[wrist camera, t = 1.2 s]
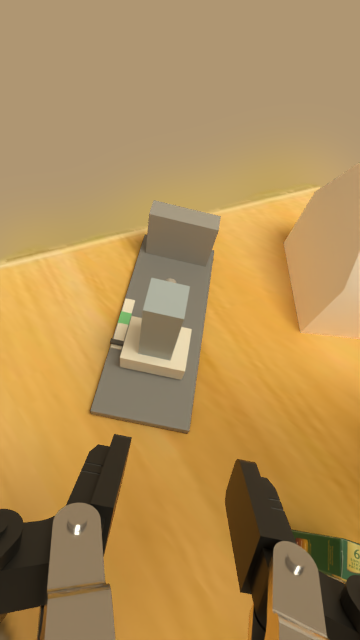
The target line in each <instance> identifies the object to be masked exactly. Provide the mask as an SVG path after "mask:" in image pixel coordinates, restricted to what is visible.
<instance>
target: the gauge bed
mask: <svg viewBox="0 0 360 640" xmlns="http://www.w3.org/2000/svg"><path fill="white" fill-rule="evenodd" d="M219 224H220V216H217V215H213V214H209V213H204V212H200V211H196V210H192V209H188V208H184V207H179V206H175V205H171V204H167V203H163V202H159V201H153V204H152V207H151V210H150V214H149V223H148V234H147V235H145V236H144V239H143V242H142V246H141V249H140V252H139V255H138V259H137V262H136V265H135V268H134V271H133V275H132V278H131V281H130V284H129V288H128V291H127V294H126V297H125V301H124V304H123V307H122V310H121V313H120V317H119V320H118V323H117V326H116V330H115V333H114V336H113V339H116V340H121V341H125V338H126V334H127V331H128V327H129V324H130V320H131V317H132V316H135V317H139V318H142V313H143V308H144V304H145V300H146V296H147V293H148V289H149V285H150V281H151V278H155V279H160V280H164V281H166V279H169V278H171V279H174V280H175V281H176V283H177V284H182V285H186V286H190V289H189V295H188V301H187V306H186V312H185V317H184V321H183V324H182V327H185V328H189V329H192V332H191V338H190V344H189V350H188V357H187V363H186V369H185V373H184V375H183V377H182V379H181V380H179V379H174V378H170V377H165V376H160V375H156V374H151V373H146V372H141V371H137V370H132V369H127V368H122V367H120V355H121V352H122V348H123V346H118V345H114V344H111V346H110V349H109V352H108V355H107V359H106V362H105V365H104V368H103V372H102V375H101V378H100V381H99V385H98V388H97V391H96V394H95V397H94V401H93V404H92V407H91V410H90V412H91V414H93V415H98V416H103V417H108V418H113V419H118V420H123V421H128V422H133V423H138V424H143V425H148V426H153V427H158V428H163V429H167V430H172V431H177V432H182V433H188V432H189V429H190V422H191V415H192V407H193V400H194V393H195V386H196V378H197V371H198V364H199V357H200V350H201V342H202V335H203V328H204V321H205V313H206V306H207V299H208V292H209V284H210V277H211V270H212V263H213V255H214V250H212V248H213V245H214V242H215V239H216V236H217V234H218V231H219Z"/></svg>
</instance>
